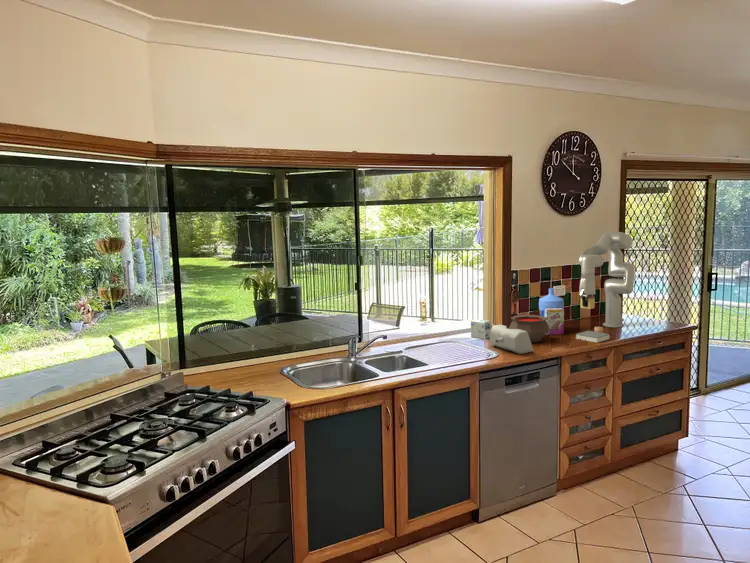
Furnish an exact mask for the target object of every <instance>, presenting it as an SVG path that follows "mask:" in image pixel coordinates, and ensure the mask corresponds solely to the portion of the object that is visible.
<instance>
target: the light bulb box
mask: <svg viewBox="0 0 750 563" xmlns="http://www.w3.org/2000/svg"><path fill="white" fill-rule="evenodd" d="M490 331H491V321H490V320H482V319H473V320H470V337H471V338H473V339H480V340H486V339H490Z"/></svg>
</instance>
